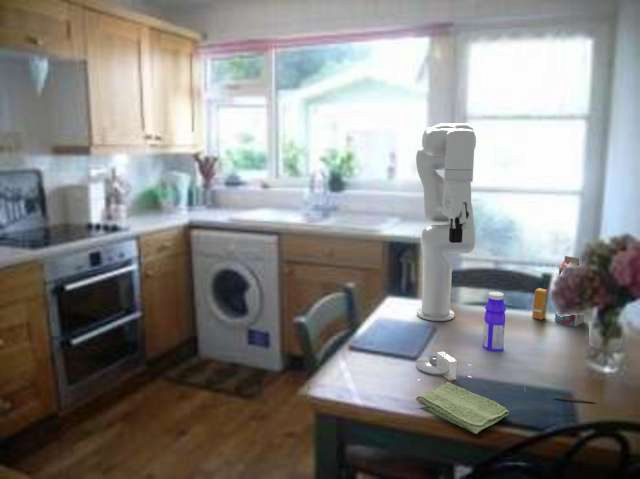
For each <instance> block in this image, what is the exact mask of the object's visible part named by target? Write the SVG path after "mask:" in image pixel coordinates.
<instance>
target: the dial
mask: <svg viewBox="0 0 640 479" xmlns="http://www.w3.org/2000/svg"><path fill="white" fill-rule="evenodd" d="M415 364H416V366H415V367H416V368H417V370H419V371H420V372H422V373H424V374H426V375H432V376H443V377H444V378H445V379H447V380H448V381H454V380H457V368H458V367H457V365H458V360H457V359H456V358H454V357H453V356H451V355H450V354H448V353H447V352H445V351H438V352H436V355H426V356H425V355H424V356H421V357H419V358H418V359H417V360H416V363H415Z"/></svg>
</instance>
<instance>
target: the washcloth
mask: <svg viewBox="0 0 640 479" xmlns="http://www.w3.org/2000/svg"><path fill="white" fill-rule="evenodd" d="M415 400H417V402H419V403H421V404H424V405H426V406H424V407H420V409H421V410H425V411H426V412H428V413H430V414H431V415H435V416H437V417H438V418H441V419H443V420H446V421H448V422H449V423H450V422H451V423H452V424H454V425H457V426H459V427H460V428H463V429H466V430H467V431H469V432H471V433H472V434H476V435H478V433H480V432H481V431H482V430H484V429H486V428H488V427H490V426H494V424H496V423H498V422H499V421H500V420H502V419H503V418H505V417H508V416H509V414H510V411H509V410H508V409H507V408H506V407H505V406H503V405H501V404H500V403H498V402H496V401H495V400H491V399H490V398H487V397H484V396H481V395H480V394H477V393H473V392H471V391H470V390H467V389H465V388H464V387H461V386H458V385H456V384H453V383H451V384H448V383H446V382H445V383H443V384H441V385H439V386H438V387H435V388H434V389H433V390H432V391H427V392H424V393H423V394H422V393H421V394H420V395H418V396H417V397H416V398H415Z"/></svg>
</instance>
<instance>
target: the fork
mask: <svg viewBox="0 0 640 479" xmlns="http://www.w3.org/2000/svg"><path fill="white" fill-rule="evenodd" d="M523 390H524V392H525V393H527V391H526V390H527V389H526V387H525V386H523ZM557 399H561V400H560V401H563V400H567V401H566V402H569V401H572V402H571V403H583V404H593V405H594V404H597V402H595V401H591V400H583V399H578V398H571V397H557V398H556V397H555V398H554V397H553V398H552V400H557Z"/></svg>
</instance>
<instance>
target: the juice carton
mask: <svg viewBox="0 0 640 479" xmlns="http://www.w3.org/2000/svg"><path fill="white" fill-rule="evenodd" d="M579 259H580V257H576V256H575V257H574V256H568V255H564V260H563V261H562V263H561V264H560V266H559V269H558V276H559V275H560V274H561V272H562V271H563V270H564V269H565V268H568V267H576V266H578V265H579ZM584 321H585V314H584V315H571V316H563V317H560V316H558V315H557V314H556V312H555V314H554V322H555V323H559V324H563V325H566V326H570V327H578V326H580V324H583V323H584Z"/></svg>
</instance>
